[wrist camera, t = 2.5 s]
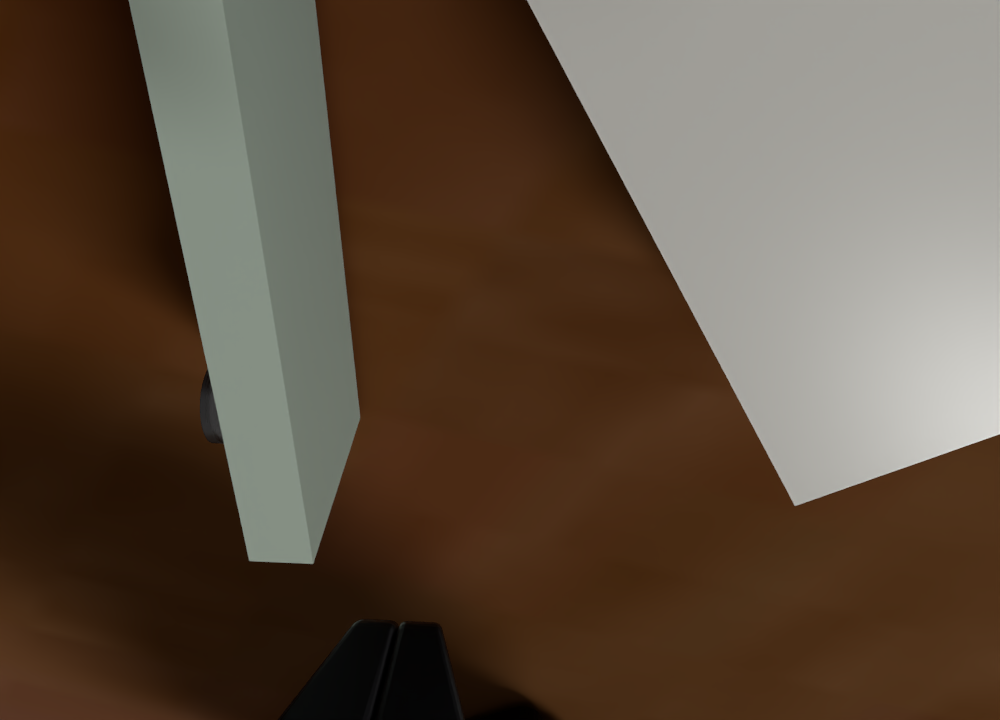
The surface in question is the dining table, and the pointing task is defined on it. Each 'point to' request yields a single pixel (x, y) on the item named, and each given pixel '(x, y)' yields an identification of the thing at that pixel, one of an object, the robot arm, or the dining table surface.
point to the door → (259, 251)
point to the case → (816, 207)
